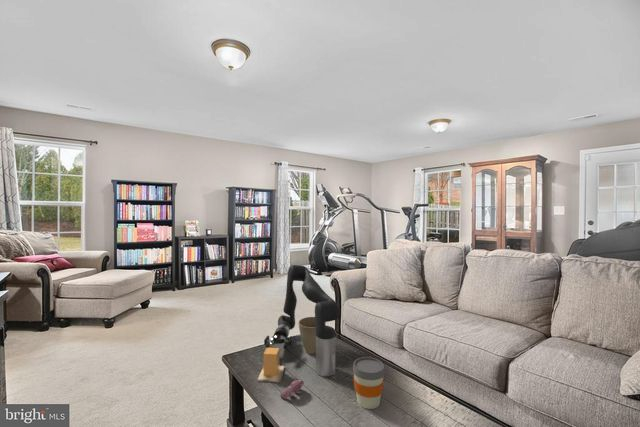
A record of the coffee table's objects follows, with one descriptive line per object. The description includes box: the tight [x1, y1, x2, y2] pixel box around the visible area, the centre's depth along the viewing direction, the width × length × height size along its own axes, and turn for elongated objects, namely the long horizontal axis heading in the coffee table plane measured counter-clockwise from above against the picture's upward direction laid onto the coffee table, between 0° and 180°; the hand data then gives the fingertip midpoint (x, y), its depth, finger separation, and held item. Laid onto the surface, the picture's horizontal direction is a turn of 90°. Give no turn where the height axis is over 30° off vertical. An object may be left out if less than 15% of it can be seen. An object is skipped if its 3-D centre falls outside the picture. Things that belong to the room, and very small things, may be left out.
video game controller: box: [279, 378, 305, 399], centre depth 125 cm, size 10×5×7 cm, turn 144°
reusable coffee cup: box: [352, 356, 386, 410], centre depth 121 cm, size 13×13×15 cm
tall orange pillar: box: [263, 347, 280, 376], centre depth 140 cm, size 6×6×10 cm
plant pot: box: [297, 316, 327, 355], centre depth 163 cm, size 15×15×16 cm
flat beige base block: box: [257, 365, 285, 383], centre depth 140 cm, size 10×12×6 cm
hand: (275, 347), depth 150 cm, fingers open, 8 cm apart
